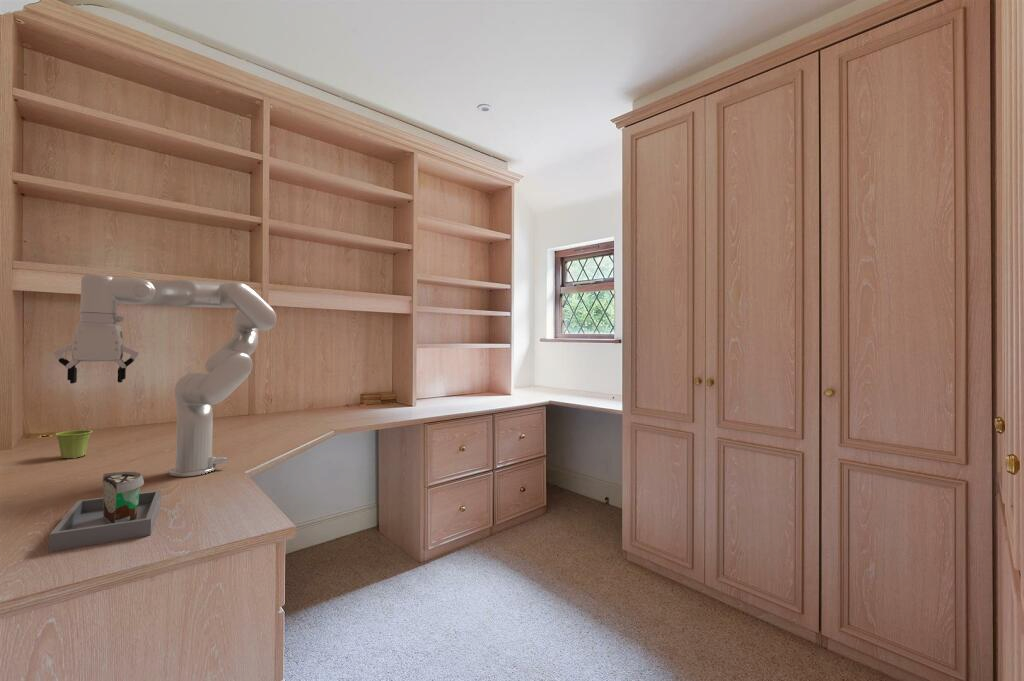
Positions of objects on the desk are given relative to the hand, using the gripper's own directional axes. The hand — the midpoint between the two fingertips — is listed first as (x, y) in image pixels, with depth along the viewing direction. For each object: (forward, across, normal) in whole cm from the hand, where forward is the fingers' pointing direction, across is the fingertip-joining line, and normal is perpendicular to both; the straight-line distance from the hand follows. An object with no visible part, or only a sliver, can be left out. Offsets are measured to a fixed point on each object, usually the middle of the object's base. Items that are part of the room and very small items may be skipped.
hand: (97, 382), depth 125 cm
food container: (+30, -10, +28) cm, 42 cm away
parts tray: (+30, -8, +29) cm, 43 cm away
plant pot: (+31, +14, -51) cm, 61 cm away
